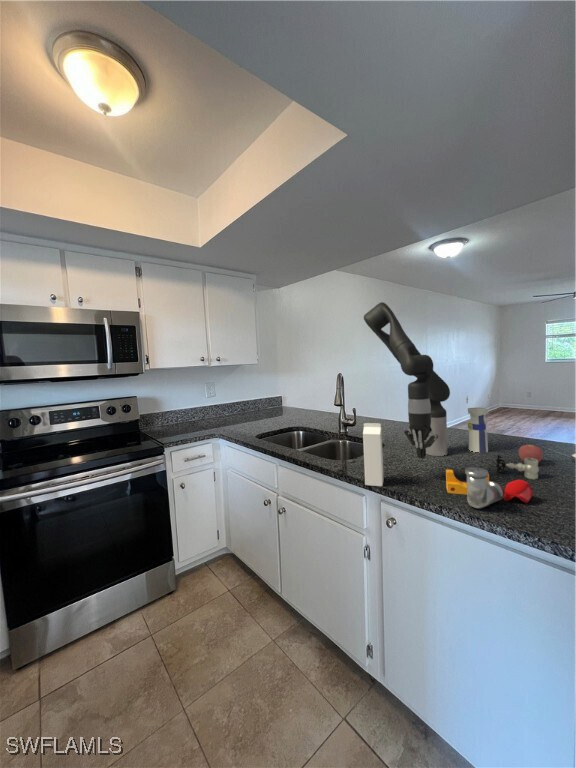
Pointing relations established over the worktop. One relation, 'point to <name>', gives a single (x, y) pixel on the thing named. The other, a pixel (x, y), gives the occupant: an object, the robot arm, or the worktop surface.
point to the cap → (518, 491)
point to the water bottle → (477, 429)
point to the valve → (521, 467)
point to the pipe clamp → (456, 484)
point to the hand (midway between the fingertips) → (421, 457)
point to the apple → (530, 452)
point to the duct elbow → (481, 488)
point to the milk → (373, 454)
